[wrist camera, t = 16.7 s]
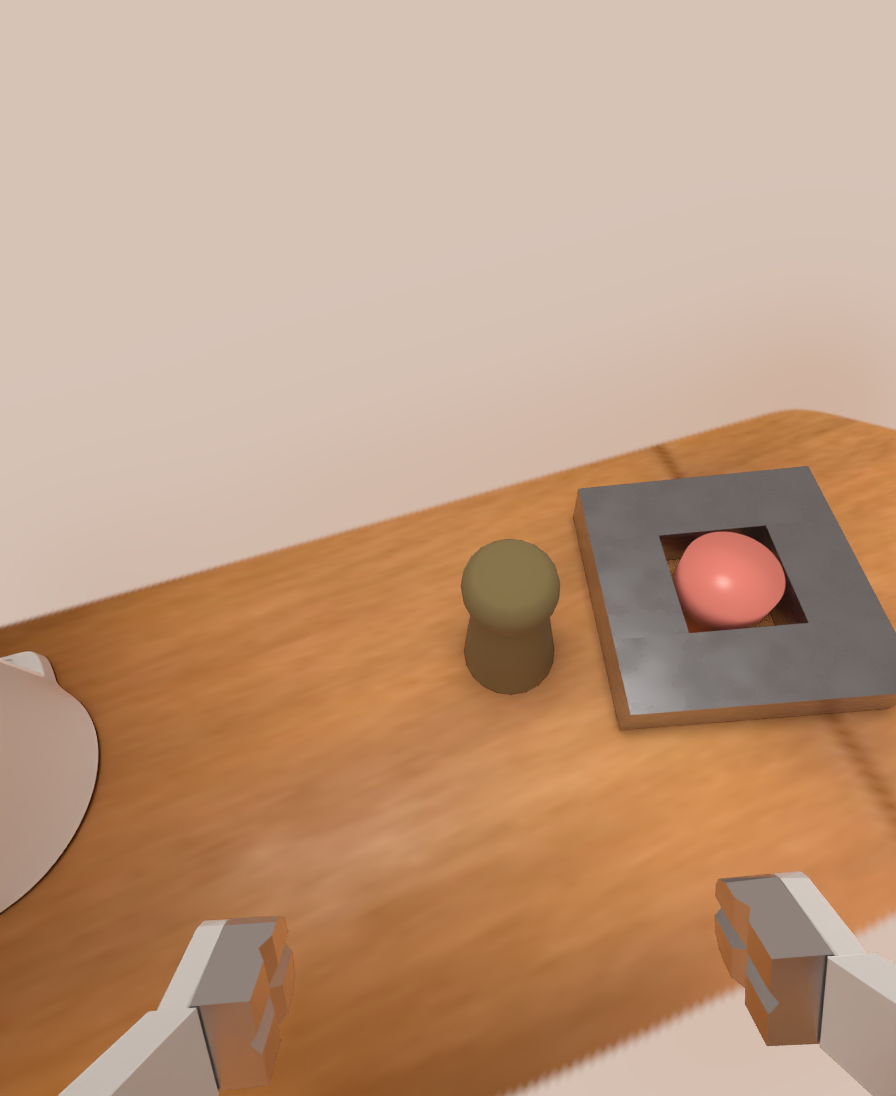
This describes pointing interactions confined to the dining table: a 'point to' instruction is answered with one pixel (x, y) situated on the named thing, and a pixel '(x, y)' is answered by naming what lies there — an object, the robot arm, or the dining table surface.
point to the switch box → (739, 654)
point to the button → (727, 582)
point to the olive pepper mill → (510, 615)
